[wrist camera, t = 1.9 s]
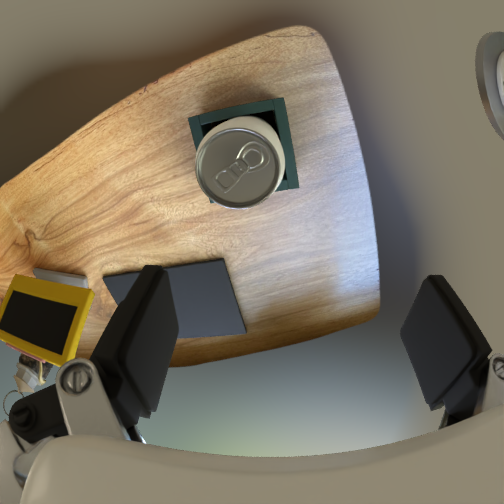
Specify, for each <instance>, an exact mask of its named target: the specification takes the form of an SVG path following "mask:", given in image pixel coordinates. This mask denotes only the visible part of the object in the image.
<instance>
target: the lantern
mask: <svg viewBox="0 0 504 504" xmlns="http://www.w3.org/2000/svg"><path fill="white" fill-rule="evenodd" d="M53 365H54V364H51V363H49V362H47V361H45V363H43V362H40V361H38V360H36V359H34V358H32V357H29V356H27V355H25V354H23V353H21V356H20V357H19V363H17V368H18V371H17V374H16V376H15V375H14V378H15V380H16V383H17V386H18V391H16V390H14V391H11V392H18V393H19V394H22V393H23V392H32V393H33V392H34V391H33V389H34V388H35V386H36V385H43V384H44V383H45V382H46V380H45V379H46V377H47V375H48V373H49V372H50V370H51V368H52V366H53ZM19 391H21V392H19ZM11 392H9V393H8V394H7V395H6V397H7V396H8V395H9V394H10V393H11ZM22 395H23V394H22ZM6 397H5V399H6ZM23 398H24V396H23ZM5 399H4V402H5ZM4 402H3V408H4ZM4 411H5V409H4ZM5 413H6V411H5ZM6 414H7V413H6ZM7 415H8V414H7ZM8 416H9V415H8Z"/></svg>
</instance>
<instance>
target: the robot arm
mask: <svg viewBox="0 0 504 504" xmlns="http://www.w3.org/2000/svg"><path fill="white" fill-rule="evenodd" d="M497 84H498V89H499V94H500V97H501V101H502V104H503V106H504V51H503V52H502V53H501V54H500V56H499V58H498V62H497ZM178 333H179V324H178V320H177V315H176V310H175V305H174V301H173V296H172V291H171V285H170V280H169V274H168V271H167V270H163V267H162V266H160V265H145V266H144V267H143V269H142V270H141V272H140V274H139V275H138V277H137V279H136V280H135V282H134V284H133V285H132V287H131V289H130V290H129V292H128V294H127V296H126V297H125V299H124V300H123V301H121V302H120V304H119V305H118V307H117V308H116V310H115V312H114V314H113V316H112V317H111V319H110V321H109V323H108V325H107V326H106V328H105V330H104V332H103V334H102V336H101V338H100V340H99V341H98V343H97V345H96V347H95V349H94V351H93V353H92V355H91V357H90V359H89V360H87V359H85V358H75V359H71V360H69V361H67V362H65V363H64V364H63V365H62V366H61V367H60V369H59V370H58V372H57V375H56V384H53V385H51V386H49V387H47V388H44V389H42V390H40V391H38V392H35V393H33V394H31V395H29V396H26V397H24V398H22V399H20V400H18V401H17V402H15V403H14V405H13V406H12V408H11V410H10V413H9V421H6V420H3V421H2V422H1V423H0V504H504V355H502V354H494V355H492V357H491V358H490V359H488V358H487V357H488V355H489V354H490V353H491V351H492V349H491V347H490V345H489V344H488V342H487V340H486V338H485V337H484V335H483V334H482V332H481V330H480V329H479V327H478V325H477V324H476V322H475V321H474V319H473V318H472V316H471V315H470V313H469V312H468V310H467V309H466V307H465V306H464V304H463V303H462V301H461V300H460V299H459V297H458V296H457V294H456V293H455V291H454V290H453V289H452V288H451V286H450V285H449V283H448V282H447V281H446V279H445V278H444V277H443V276H442V275H429V276H428V277H427V278H426V279H425V280H424V281H423V283H422V285H421V288H420V290H419V292H418V294H417V297H416V299H415V301H414V303H413V306H412V308H411V310H410V312H409V314H408V316H407V318H406V320H405V322H404V324H403V326H402V328H401V331H400V335H401V339H402V341H403V343H404V346H405V348H406V350H407V353H408V355H409V358H410V360H411V363H412V365H413V368H414V371H415V373H416V376H417V379H418V381H419V384H420V387H421V390H422V393H423V395H424V398H425V401H426V403H427V404H429V407H430V409H431V411H433V410H436V409H439V408H442V406H444V405H445V408H446V409H445V412H444V415H443V418H442V420H441V424H440V426H439V429H438V430H436V431H433V432H430V433H427V434H424V435H421V436H417V437H414V438H410V439H407V440H403V441H399V442H395V443H391V444H387V445H382V446H377V447H372V448H367V449H361V450H355V451H349V452H342V453H334V454H325V455H314V456H300V457H299V456H298V457H243V456H227V455H217V454H207V453H198V452H191V451H184V450H177V449H172V448H166V447H161V446H156V445H151V444H146V443H145V441H144V439H143V437H142V435H141V434H140V432H139V430H138V428H137V426H136V424H137V423H138V419H139V416H140V417H144V418H150V415H151V412H155V411H156V410H157V406H158V403H159V399H160V395H161V391H162V388H163V385H164V381H165V378H166V374H167V370H168V367H169V364H170V360H171V357H172V354H173V350H174V347H175V344H176V340H177V337H178Z"/></svg>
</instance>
